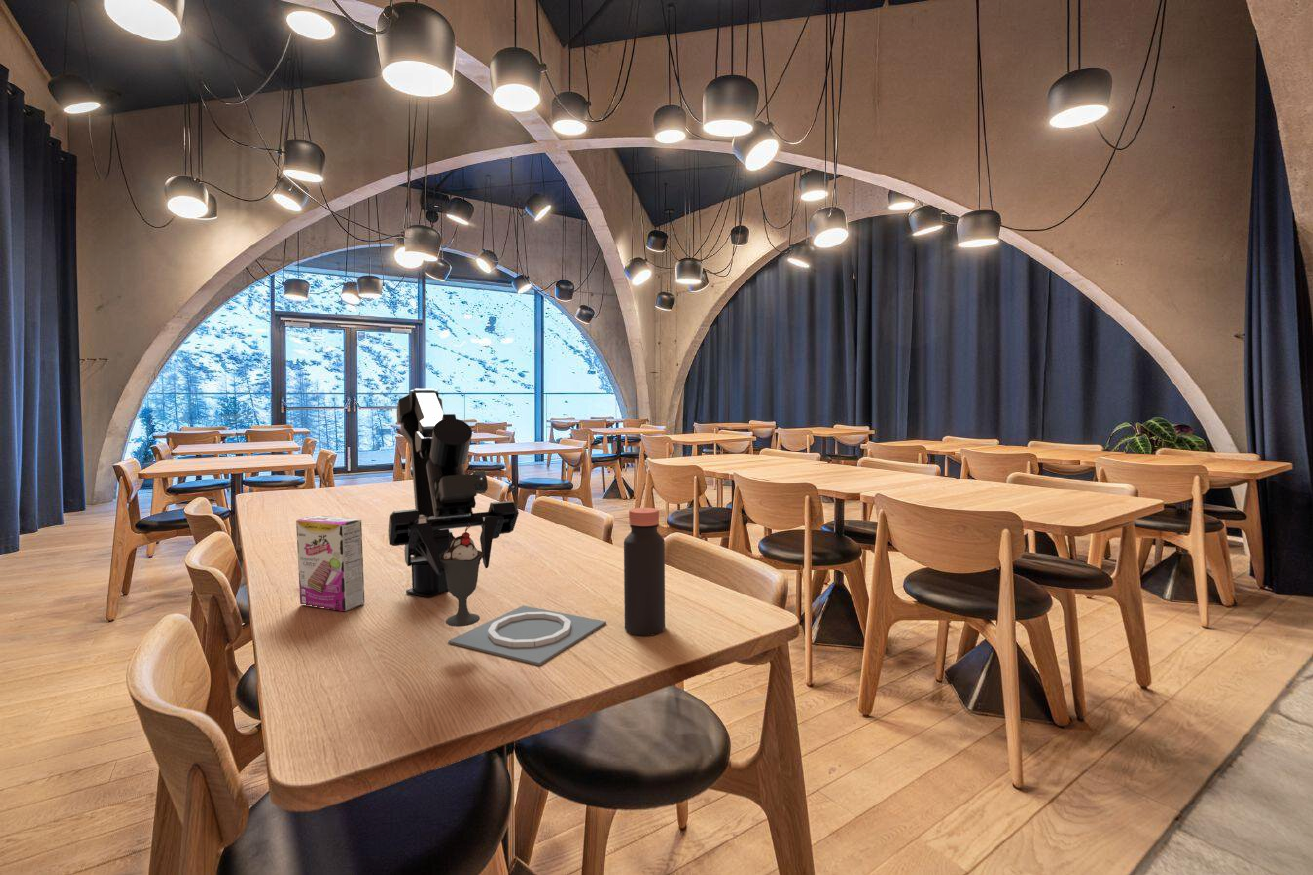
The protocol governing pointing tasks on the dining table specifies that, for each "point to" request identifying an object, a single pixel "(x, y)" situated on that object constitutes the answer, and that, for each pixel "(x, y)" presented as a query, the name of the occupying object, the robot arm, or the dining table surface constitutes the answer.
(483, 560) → the robot arm
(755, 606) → the dining table surface
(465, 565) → the sundae
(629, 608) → the bottle
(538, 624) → the ring mat
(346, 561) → the candy bar box
